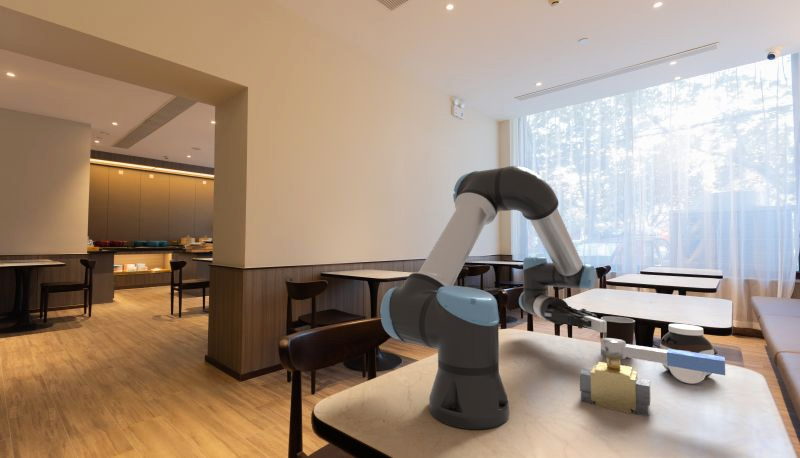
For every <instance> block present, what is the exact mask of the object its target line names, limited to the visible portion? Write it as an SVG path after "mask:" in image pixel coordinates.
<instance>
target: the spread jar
mask: <svg viewBox="0 0 800 458" xmlns="http://www.w3.org/2000/svg"><path fill="white" fill-rule="evenodd" d="M667 328H668V332H667V333H666V334H664V335H663V336H662V338H661V340H660V345H659V346H660V347H659V349H664V350H668V349H674V350H680V351H687V352H694V353H701V354H708V355H715V351H714V347H713V345H712V343H711V341H709V339H707V338H706V337H705V336H704V328H703V327H701V326H699V325H693V324H692V325H691V324H687V323H686V324H685V323H684V324H683V323H669V324H668V327H667ZM661 364H662V366H663V367H664V369H665V370H667V372H669V373H670V374H671V375H673V377H674V378H675V379H677V380H678V381H680V382H682V383H684V384H689V385H690V384H699V383H700V382H702V381H703V380H705V379H707V378H709V377H710V376H711V375H712V374H713V373H708V372H702V371H696V370H690V369H684V368H679V367H673V366H667V364H664V363H661Z"/></svg>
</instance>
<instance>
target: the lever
mask: <svg viewBox="0 0 800 458" xmlns="http://www.w3.org/2000/svg"><path fill="white" fill-rule="evenodd" d="M600 356H602V357H604V358H606V359H607V358H611V359H620V360H625V359H626V357H628V358H629V359H636V360H641V361H645V362H646V361H647V362H653V363H659V364H662V363H664V364H667V366H673V367H679V368H684V369H690V370H696V371H702V372H708V373H712V374H715V375H722V376H726V360H725V356H722V355H716V354H714V355H708V354H701V353H694V352H687V351H680V350H674V349H668V350H664V349H660V348H656V347H649V346H643V345H637V344H633V345H630V344H626V342H625V341H623V340H620V339H614V338H604V337H602V338H601V339H600ZM628 358H627V359H628Z"/></svg>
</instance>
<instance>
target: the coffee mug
mask: <svg viewBox="0 0 800 458" xmlns="http://www.w3.org/2000/svg"><path fill="white" fill-rule="evenodd" d="M600 319H601V320H604V321H607V332H602V335H603V338H614V339H620V340H623V341H625V342H626V344H630V345H634V335H635V328H636V320H634V319H632V318H628V317H622V316H602V317H600Z"/></svg>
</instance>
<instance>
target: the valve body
mask: <svg viewBox="0 0 800 458" xmlns="http://www.w3.org/2000/svg"><path fill="white" fill-rule="evenodd" d="M579 391H580V399H581V400H580V401H581V402H584V403H589V404H593V405H594V404H595V406H597V407H603V408H606V409H611V410H614V411H615V410H616V411H619V412H625V413H628V414H632V413H633V414H637V415H638V414H639V415H643V416H646V417H648V416H649V411H650V406H651V396H652V395H651V380H649V379H648V380H647V379H643V378H638V371H636V370H633V366H627V365H621V359H611V358H607V357H606V362H602V361H598V363H597V364H594V365H593V367H592V369H587V368H582V369H581V370H580V372H579Z"/></svg>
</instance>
